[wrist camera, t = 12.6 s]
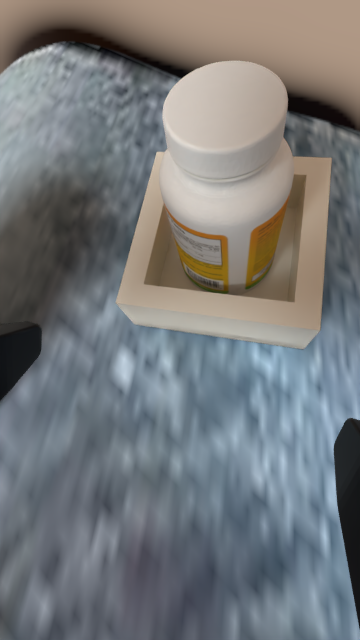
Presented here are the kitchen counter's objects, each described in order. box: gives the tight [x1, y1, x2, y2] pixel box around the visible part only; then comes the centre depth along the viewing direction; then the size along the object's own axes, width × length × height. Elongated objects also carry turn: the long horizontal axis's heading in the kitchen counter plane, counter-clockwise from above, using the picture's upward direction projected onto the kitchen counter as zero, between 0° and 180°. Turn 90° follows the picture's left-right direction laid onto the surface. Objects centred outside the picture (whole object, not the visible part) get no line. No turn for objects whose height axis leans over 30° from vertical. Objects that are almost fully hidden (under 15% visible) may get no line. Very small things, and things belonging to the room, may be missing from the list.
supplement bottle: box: [159, 61, 294, 295], centre depth 15 cm, size 5×5×10 cm
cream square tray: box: [116, 152, 332, 349], centre depth 18 cm, size 10×10×4 cm
